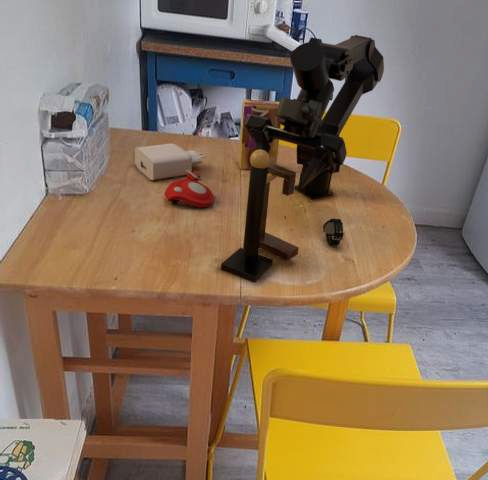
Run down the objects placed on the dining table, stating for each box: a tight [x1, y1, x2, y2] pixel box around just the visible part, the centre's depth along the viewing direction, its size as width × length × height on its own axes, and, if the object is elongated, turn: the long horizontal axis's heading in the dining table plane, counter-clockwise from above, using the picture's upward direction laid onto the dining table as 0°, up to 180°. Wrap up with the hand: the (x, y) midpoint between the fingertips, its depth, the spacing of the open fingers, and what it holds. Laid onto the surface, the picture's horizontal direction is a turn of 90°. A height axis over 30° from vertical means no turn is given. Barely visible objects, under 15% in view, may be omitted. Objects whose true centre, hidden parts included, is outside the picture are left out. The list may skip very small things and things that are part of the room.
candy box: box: [237, 98, 282, 170], centre depth 116 cm, size 9×4×15 cm, turn 99°
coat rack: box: [220, 150, 279, 283], centre depth 79 cm, size 10×6×20 cm, turn 154°
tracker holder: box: [164, 170, 215, 208], centre depth 102 cm, size 12×4×10 cm
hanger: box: [259, 163, 300, 262], centre depth 82 cm, size 3×9×14 cm, turn 52°
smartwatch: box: [322, 218, 345, 247], centre depth 92 cm, size 4×5×5 cm
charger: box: [134, 143, 207, 181], centre depth 112 cm, size 5×9×15 cm
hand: (277, 180), depth 90 cm, fingers open, 9 cm apart
